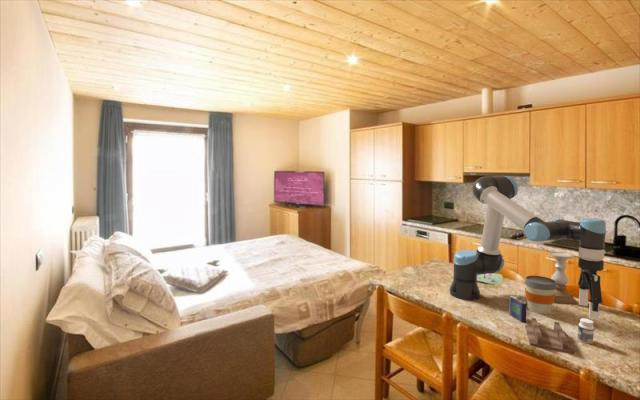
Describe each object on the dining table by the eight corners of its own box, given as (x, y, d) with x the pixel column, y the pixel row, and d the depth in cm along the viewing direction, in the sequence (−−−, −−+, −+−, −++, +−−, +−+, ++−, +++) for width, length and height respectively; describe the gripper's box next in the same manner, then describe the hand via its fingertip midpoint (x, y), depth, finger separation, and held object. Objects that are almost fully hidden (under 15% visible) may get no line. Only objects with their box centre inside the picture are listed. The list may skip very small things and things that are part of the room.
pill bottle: (577, 336, 131) (578, 316, 131) (592, 339, 129) (593, 319, 128) (578, 341, 128) (579, 321, 127) (593, 345, 125) (595, 324, 124)
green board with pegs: (478, 270, 217) (478, 257, 216) (512, 277, 202) (512, 263, 201) (460, 279, 201) (461, 265, 200) (496, 288, 185) (496, 272, 185)
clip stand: (575, 353, 119) (575, 342, 119) (530, 345, 125) (530, 334, 125) (564, 333, 133) (565, 323, 133) (525, 326, 140) (525, 316, 139)
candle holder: (576, 304, 161) (579, 257, 159) (551, 302, 164) (554, 256, 161) (564, 295, 172) (567, 251, 170) (541, 294, 174) (544, 251, 172)
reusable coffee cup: (545, 318, 147) (547, 286, 146) (517, 307, 158) (519, 278, 157) (560, 312, 153) (562, 281, 152) (532, 302, 164) (534, 273, 163)
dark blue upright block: (507, 313, 152) (508, 292, 151) (513, 313, 152) (514, 291, 151) (522, 323, 143) (523, 300, 142) (528, 322, 143) (529, 299, 142)
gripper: (615, 268, 112) (612, 327, 114) (593, 252, 134) (590, 301, 136) (588, 266, 115) (585, 323, 117) (570, 250, 138) (568, 298, 139)
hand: (588, 311), depth 127 cm, fingers open, 13 cm apart
